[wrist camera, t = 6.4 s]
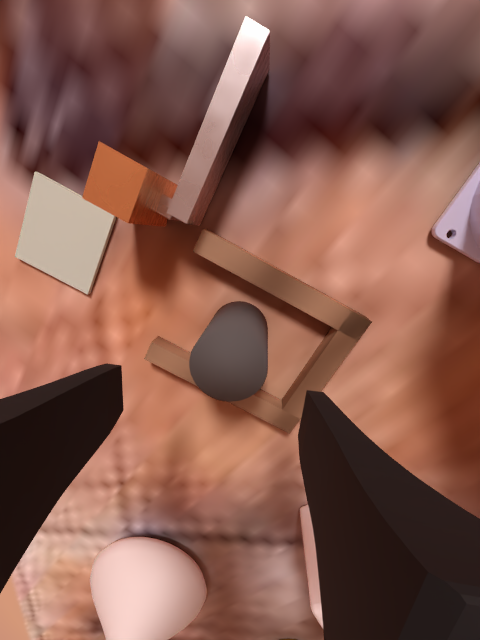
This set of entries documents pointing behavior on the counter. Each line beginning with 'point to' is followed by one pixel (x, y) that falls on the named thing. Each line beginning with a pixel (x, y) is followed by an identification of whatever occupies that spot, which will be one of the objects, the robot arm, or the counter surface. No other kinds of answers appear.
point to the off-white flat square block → (63, 234)
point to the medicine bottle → (311, 563)
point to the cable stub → (232, 353)
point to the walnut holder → (297, 294)
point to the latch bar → (207, 153)
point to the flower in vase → (145, 589)
